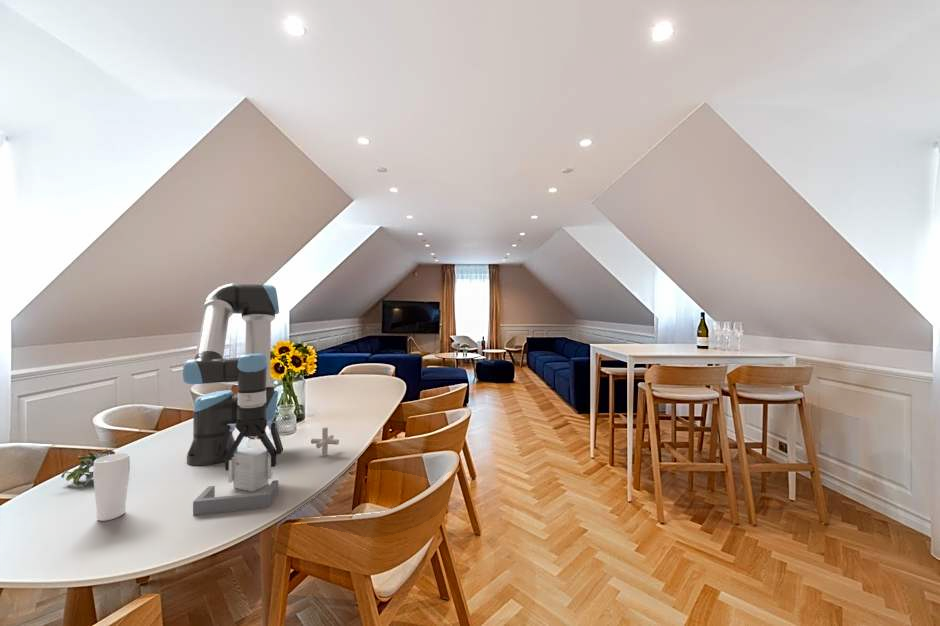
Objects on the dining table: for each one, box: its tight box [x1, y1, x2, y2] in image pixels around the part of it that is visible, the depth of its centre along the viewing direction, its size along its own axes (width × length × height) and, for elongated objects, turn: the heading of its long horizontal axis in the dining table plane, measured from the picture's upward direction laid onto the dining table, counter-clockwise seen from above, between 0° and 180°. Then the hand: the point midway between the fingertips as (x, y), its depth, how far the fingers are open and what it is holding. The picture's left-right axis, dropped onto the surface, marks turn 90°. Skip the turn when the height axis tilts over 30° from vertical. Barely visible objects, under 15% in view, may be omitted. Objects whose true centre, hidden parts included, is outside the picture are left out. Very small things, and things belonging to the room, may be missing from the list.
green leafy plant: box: [60, 448, 117, 488], centre depth 116 cm, size 11×11×12 cm
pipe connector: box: [310, 426, 340, 457], centre depth 139 cm, size 10×10×10 cm
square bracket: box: [192, 479, 279, 516], centre depth 103 cm, size 18×9×4 cm, turn 103°
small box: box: [232, 447, 270, 493], centre depth 114 cm, size 8×6×10 cm
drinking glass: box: [92, 452, 131, 522], centre depth 96 cm, size 7×7×15 cm
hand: (251, 478), depth 114 cm, fingers open, 10 cm apart
